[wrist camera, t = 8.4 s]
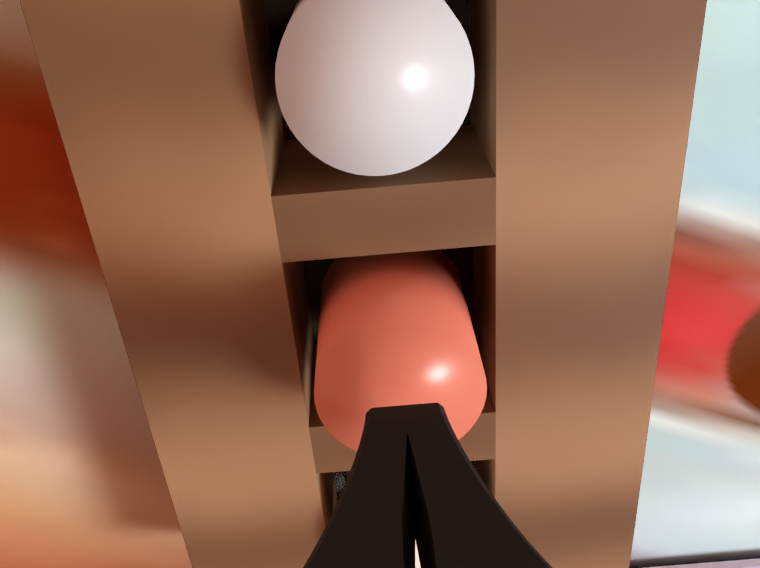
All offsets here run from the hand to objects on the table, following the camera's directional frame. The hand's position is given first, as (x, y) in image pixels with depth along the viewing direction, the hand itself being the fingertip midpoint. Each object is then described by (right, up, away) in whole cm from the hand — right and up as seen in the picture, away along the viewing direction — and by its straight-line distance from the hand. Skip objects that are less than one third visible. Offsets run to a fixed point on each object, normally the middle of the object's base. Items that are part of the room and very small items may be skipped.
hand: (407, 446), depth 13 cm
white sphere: (-1, +8, +3) cm, 9 cm away
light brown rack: (0, +3, +6) cm, 7 cm away
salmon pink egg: (0, +3, +5) cm, 5 cm away
